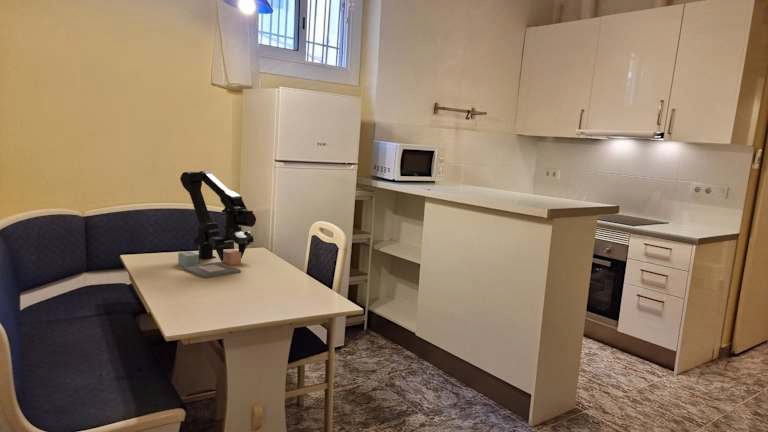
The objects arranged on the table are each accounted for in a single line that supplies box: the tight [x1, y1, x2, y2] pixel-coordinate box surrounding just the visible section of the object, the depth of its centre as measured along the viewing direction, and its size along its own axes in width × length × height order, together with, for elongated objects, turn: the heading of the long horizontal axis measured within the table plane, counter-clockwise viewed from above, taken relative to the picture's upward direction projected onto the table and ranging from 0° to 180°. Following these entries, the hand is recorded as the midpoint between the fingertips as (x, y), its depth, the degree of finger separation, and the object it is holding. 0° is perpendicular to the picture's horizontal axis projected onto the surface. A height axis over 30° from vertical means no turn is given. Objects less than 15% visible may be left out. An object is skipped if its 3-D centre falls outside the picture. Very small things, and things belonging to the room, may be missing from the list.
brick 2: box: [221, 248, 242, 266], centre depth 219 cm, size 7×5×5 cm
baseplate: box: [182, 261, 242, 279], centre depth 204 cm, size 16×16×1 cm
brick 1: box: [177, 251, 199, 268], centre depth 210 cm, size 7×5×5 cm
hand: (231, 259), depth 219 cm, fingers open, 9 cm apart
